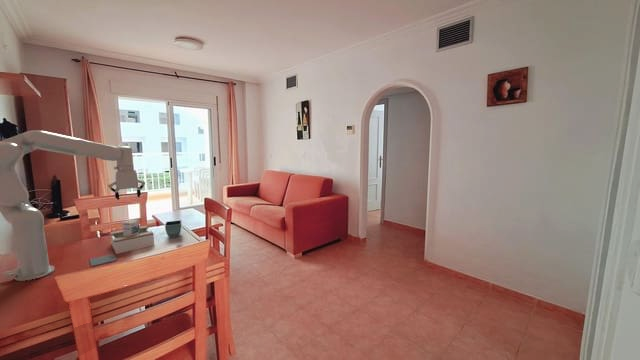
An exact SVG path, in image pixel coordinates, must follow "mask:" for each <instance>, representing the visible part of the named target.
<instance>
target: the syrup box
mask: <svg viewBox="0 0 640 360" xmlns="http://www.w3.org/2000/svg"><path fill="white" fill-rule="evenodd" d="M139 227H140V222H139V220H138V219H130V220H126V221H122V230H123V234H124V237H125V236H130V235H135V234H140V229H139Z"/></svg>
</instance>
